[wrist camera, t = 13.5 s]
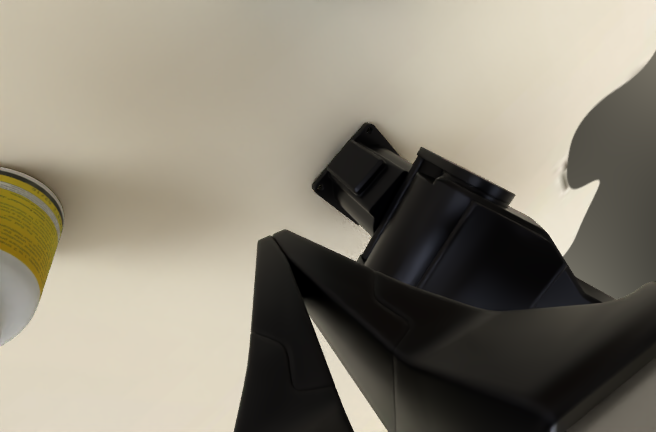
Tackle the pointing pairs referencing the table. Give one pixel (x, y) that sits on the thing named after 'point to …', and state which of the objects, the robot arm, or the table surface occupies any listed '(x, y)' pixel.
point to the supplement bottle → (25, 247)
